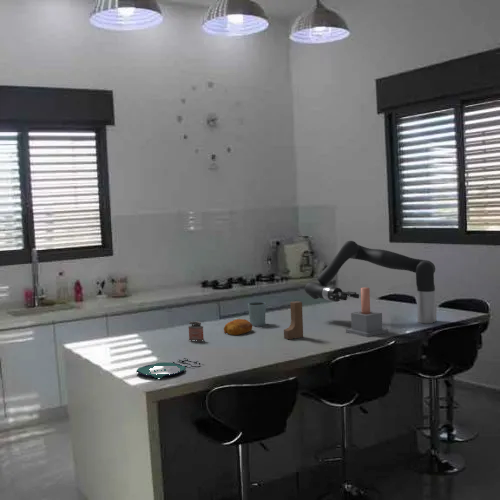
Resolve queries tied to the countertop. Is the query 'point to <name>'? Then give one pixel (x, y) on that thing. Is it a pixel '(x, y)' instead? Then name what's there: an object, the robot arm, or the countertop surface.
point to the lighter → (195, 331)
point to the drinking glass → (257, 313)
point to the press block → (366, 324)
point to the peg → (365, 300)
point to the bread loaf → (238, 327)
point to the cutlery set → (145, 370)
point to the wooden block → (295, 321)
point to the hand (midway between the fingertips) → (352, 297)
